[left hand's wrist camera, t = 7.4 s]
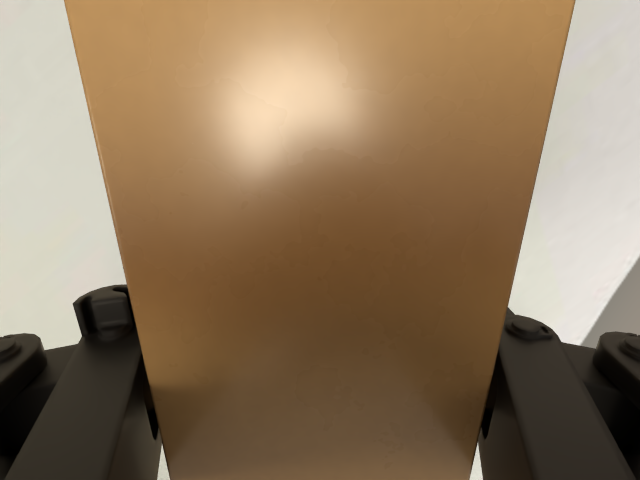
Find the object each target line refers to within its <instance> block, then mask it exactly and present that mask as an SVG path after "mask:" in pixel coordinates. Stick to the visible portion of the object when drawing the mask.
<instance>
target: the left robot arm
mask: <svg viewBox="0 0 640 480" xmlns="http://www.w3.org/2000/svg"><path fill="white" fill-rule="evenodd" d="M73 306H74V310H75V313H76V317H77V320H78V324H79V327H80V330H81V334H82V338H81V339H80V341H79V343H78V344H75V345H71V346H65V347H60V348H55V349H49V350H44V348H43V345H42V342H41V339H40V338H39V337H38V336H36V335H35V334H26V333H23V334H15V335H7V336H4V337H0V480H157V476H158V468H159V461H160V453H161V446H162V440H161V436H160V431H159V427H158V422H157V417H156V413H155V408H154V404H153V399H152V395H151V390H150V386H149V381H148V377H147V372H146V368H145V363H144V359H143V354H142V350H141V345H140V341H139V336H138V332H137V327H136V323H135V318H134V314H133V309H132V305H131V300H130V296H129V291H128V287H127V285H113V286H108V287H103V288H100V289H97V290H94V291H91V292H89V293H87V294H85V295H83V296H81V297H79V298H78V299H77V300H76V301H75V302H74V303H73ZM478 445H479V452H480V460H481V467H482V475H483V480H640V335H638V336H637V335H636V334H632V333H623V332H607V333H604V334H603V335H601V336H600V338H599V341H598V344H597V347H596V349H594V348H589V347H584V346H578V345H573V344H567V343H563V342H561V341H560V339H559V337H558V335H557V334H556V333H555V332H554V331H553V330H552V329H551V328H550V327H548V326H546V325H545V324H543V323H542V322H539V321H537V320H534V319H532V318H529V317H524V316H520V315H515V314H514V313H513V312H512V311H511V310H510V309H509V308H508V307H507V312H506V316H505V321H504V325H503V330H502V334H501V339H500V343H499V348H498V352H497V357H496V361H495V366H494V370H493V375H492V379H491V384H490V389H489V393H488V398H487V402H486V407H485V411H484V416H483V420H482V425H481V429H480V434H479V438H478Z"/></svg>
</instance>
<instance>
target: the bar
mask: <svg viewBox="0 0 640 480" xmlns="http://www.w3.org/2000/svg"><path fill="white" fill-rule="evenodd" d="M64 2H65V7H66V11H67V16H68V20H69V25H70V29H71V34H72V38H73V43H74V47H75V52H76V56H77V61H78V65H79V70H80V74H81V79H82V83H83V88H84V93H85V97H86V102H87V106H88V111H89V115H90V120H91V124H92V129H93V133H94V138H95V142H96V147H97V151H98V156H99V160H100V165H101V169H102V174H103V178H104V183H105V187H106V192H107V196H108V201H109V205H110V210H111V214H112V219H113V223H114V228H115V232H116V237H117V241H118V246H119V250H120V255H121V260H122V264H123V269H124V273H125V278H126V282H127V287H128V291H129V296H130V300H131V305H132V309H133V314H134V318H135V323H136V327H137V332H138V336H139V341H140V345H141V350H142V354H143V359H144V363H145V368H146V372H147V377H148V381H149V386H150V390H151V395H152V399H153V404H154V408H155V413H156V417H157V422H158V427H159V431H160V436H161V440H162V445H163V449H164V454H165V458H166V463H167V467H168V472H169V476H170V480H469V479H470V474H471V470H472V465H473V461H474V456H475V452H476V447H477V443H478V438H479V434H480V429H481V425H482V420H483V416H484V411H485V407H486V402H487V398H488V393H489V389H490V384H491V379H492V375H493V370H494V366H495V361H496V357H497V352H498V348H499V343H500V339H501V334H502V330H503V325H504V321H505V316H506V312H507V307H508V303H509V298H510V294H511V289H512V285H513V280H514V276H515V271H516V267H517V262H518V258H519V253H520V249H521V244H522V239H523V235H524V230H525V226H526V221H527V217H528V212H529V208H530V203H531V199H532V194H533V190H534V185H535V181H536V176H537V172H538V167H539V163H540V158H541V154H542V149H543V145H544V140H545V136H546V131H547V127H548V122H549V118H550V113H551V109H552V104H553V99H554V95H555V90H556V86H557V81H558V77H559V72H560V68H561V63H562V59H563V54H564V50H565V45H566V41H567V36H568V32H569V27H570V23H571V18H572V14H573V9H574V5H575V0H64Z"/></svg>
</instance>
